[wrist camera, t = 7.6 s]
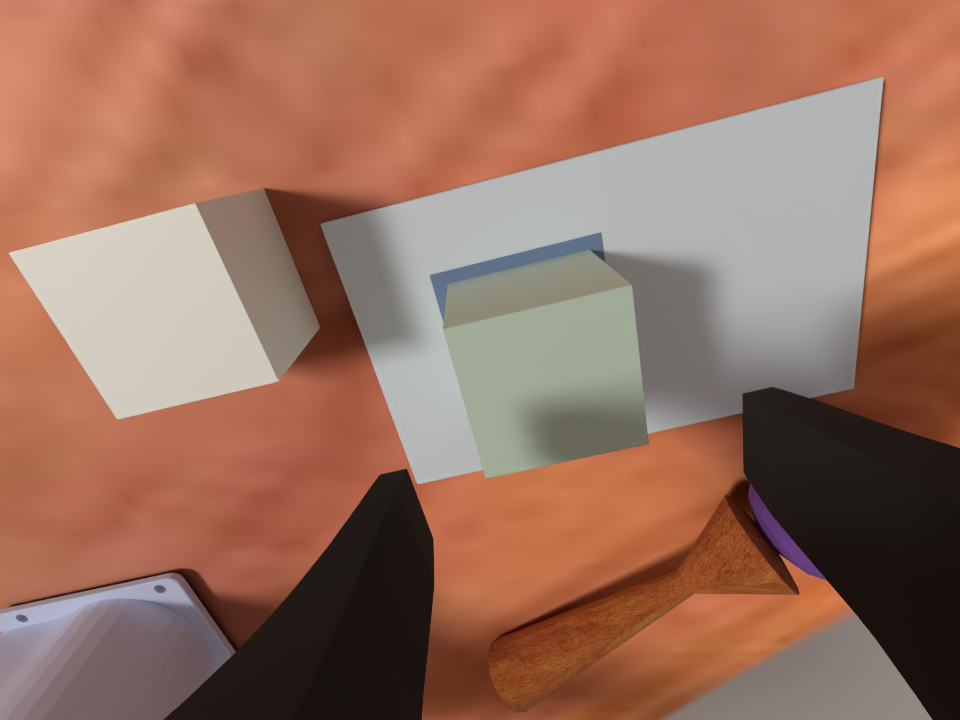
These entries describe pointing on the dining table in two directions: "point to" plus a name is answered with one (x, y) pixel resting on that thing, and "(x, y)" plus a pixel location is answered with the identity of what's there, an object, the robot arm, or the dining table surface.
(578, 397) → the block base
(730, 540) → the kendama
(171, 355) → the block top
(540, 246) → the grey base plate
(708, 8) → the dining table surface
